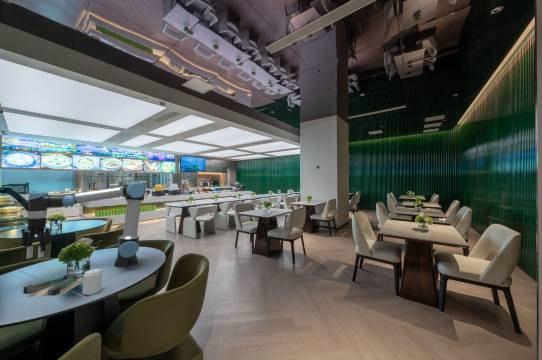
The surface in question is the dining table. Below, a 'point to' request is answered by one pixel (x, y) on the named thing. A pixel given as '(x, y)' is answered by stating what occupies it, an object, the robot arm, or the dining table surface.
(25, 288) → the tongs arm
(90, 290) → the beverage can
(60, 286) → the teal-banded grey bar
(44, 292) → the board
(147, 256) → the dining table surface
